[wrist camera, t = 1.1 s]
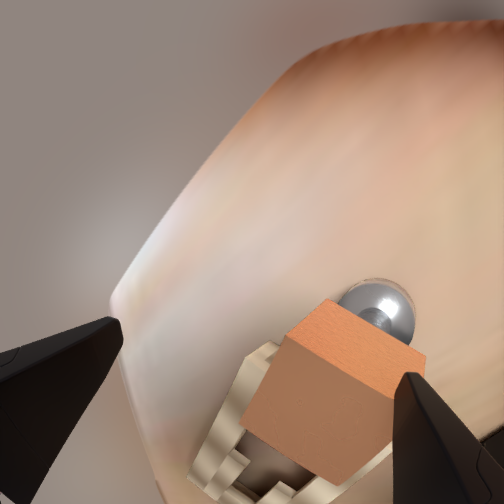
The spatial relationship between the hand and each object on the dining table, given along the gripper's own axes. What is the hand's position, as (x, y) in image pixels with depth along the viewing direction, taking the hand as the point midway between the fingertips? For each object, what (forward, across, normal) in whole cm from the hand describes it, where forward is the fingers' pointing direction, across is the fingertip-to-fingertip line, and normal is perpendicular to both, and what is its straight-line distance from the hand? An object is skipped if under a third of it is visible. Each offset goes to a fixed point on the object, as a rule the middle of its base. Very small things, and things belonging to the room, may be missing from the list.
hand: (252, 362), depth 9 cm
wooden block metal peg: (+10, -6, +4) cm, 13 cm away
